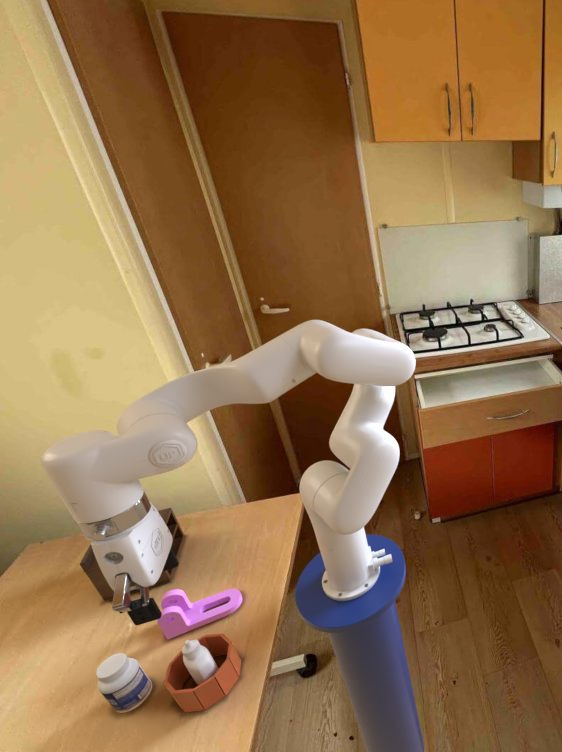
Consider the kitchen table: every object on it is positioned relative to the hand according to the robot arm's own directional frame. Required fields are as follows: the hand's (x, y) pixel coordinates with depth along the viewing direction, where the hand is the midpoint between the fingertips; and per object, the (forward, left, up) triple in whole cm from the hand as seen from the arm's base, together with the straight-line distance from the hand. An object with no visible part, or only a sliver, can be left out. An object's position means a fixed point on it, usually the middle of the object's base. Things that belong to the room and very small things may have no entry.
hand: (159, 592), depth 67 cm
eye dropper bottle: (0, +1, -24) cm, 24 cm away
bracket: (+3, -15, -24) cm, 29 cm away
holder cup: (0, +1, -24) cm, 24 cm away
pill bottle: (+12, -2, -24) cm, 27 cm away
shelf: (+18, -34, -24) cm, 45 cm away
